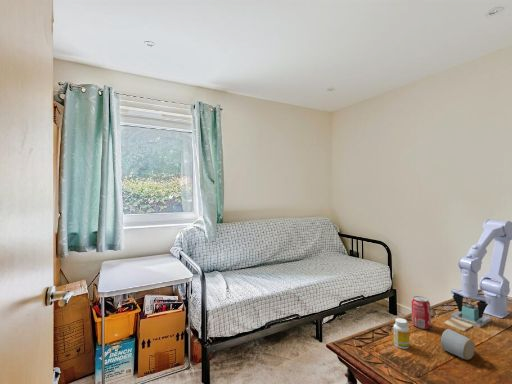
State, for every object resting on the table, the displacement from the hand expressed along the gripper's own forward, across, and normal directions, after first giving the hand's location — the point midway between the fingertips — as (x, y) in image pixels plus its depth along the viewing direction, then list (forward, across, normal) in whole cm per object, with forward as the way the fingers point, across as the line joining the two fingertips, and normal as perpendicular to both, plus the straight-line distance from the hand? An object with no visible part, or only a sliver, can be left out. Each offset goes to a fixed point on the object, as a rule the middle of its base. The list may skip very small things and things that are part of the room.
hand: (470, 314), depth 124 cm
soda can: (+3, -8, -24) cm, 26 cm away
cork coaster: (+2, 0, -10) cm, 11 cm away
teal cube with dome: (+2, 0, 0) cm, 2 cm away
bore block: (+2, 0, 0) cm, 2 cm away
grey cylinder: (+3, +10, -33) cm, 34 cm away
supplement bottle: (+3, -4, -46) cm, 46 cm away
